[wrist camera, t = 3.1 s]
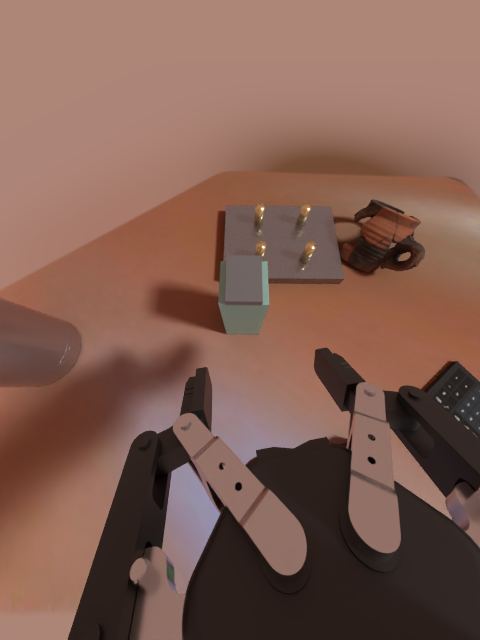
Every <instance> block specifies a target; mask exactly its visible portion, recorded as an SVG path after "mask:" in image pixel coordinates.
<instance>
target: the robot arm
mask: <svg viewBox="0 0 480 640" xmlns="http://www.w3.org/2000/svg"><path fill="white" fill-rule="evenodd" d="M80 347H81V339H80V335H79V332H78V331H77V329H76V328H75V327H74V326H73V325H72V324H70V323H68V322H66V321H64V320H61V319H58V318H55V317H52V316H50V315H47V314H44V313H41V312H39V311H36V310H33V309H30V308H27V307H25V306H22V305H19V304H16V303H13V302H10V301H8V300H5V299H2V298H0V387H39V386H44V385H48V384H50V383H53V382H55V381H56V380H58V379H60V378H61V377H62V376H64V375H65V374H66V373H67V372H68V371H69V370H70V369H71V367H72V366H73V365H74V363H75V361H76V360H77V358H78V355H79V352H80ZM314 369H315V372H316V374H317V376H318V377H319V379H320V380H321V382H322V383H323V384H324V386H325V387H326V389H327V390H328V392H329V393H330V395H331V396H332V398H333V399H334V401H335V402H336V404H337V405H338V407H339V408H340V410H341V411H342V412H343V411H349V412H350V421H349V430H348V440H347V447H346V448H345V447H343V446H340V445H337V444H333V443H330V442H329V440H328V439H327V437H325V438H319V439H314V440H309V441H307V442H305V443H304V444H302V445H300V446H298V447H296V448H293V449H290V448H279V447H271V448H266V449H261V450H256V454H257V457H255V458H253V459H252V460H250V461H249V462H248V463H247V464H246V465H244V464H243V463H242V462H241V460H240V459H239V458H238V457H237V456H236V455H235V454H234V453H233V452H232V451H231V449H230V448H229V447H228V446H227V445H226V444H225V443H224V442H223V441H222V440H221V439H220V438H219V437H218V436H216V437H215V436H214V435H213V434H212V433H211V421H212V384H211V380H210V376H209V372H208V368H207V367H204V368H198V369H196V376H195V377H190V378H189V380H188V381H187V382H186V386H185V391H184V397H183V402H182V407H181V413H180V417H179V418H177V420H176V421H175V423H174V425H173V426H172V427H170V428H169V429H167V430H165V431H163V432H160V433H158V434H157V433H156V432H154V431H146V432H144V433H142V434H140V435H139V436H138V437H137V438H136V439H135V440H134V441H133V443H132V444H131V447H130V450H129V453H128V456H127V459H126V462H125V465H124V468H123V471H122V475H121V478H120V481H119V484H118V487H117V490H116V493H115V496H114V499H113V502H112V505H111V508H110V511H109V514H108V517H107V520H106V524H105V527H104V530H103V533H102V536H101V539H100V542H99V545H98V548H97V551H96V554H95V557H94V560H93V563H92V566H91V569H90V573H89V576H88V579H87V582H86V585H85V588H84V591H83V594H82V597H81V600H80V603H79V606H78V609H77V612H76V615H75V618H74V622H73V625H72V628H71V631H70V634H69V637H68V640H480V439H479V438H478V437H477V436H476V435H474V434H473V433H472V432H471V431H470V430H469V429H467V428H466V427H465V426H464V425H463V424H462V423H461V422H459V421H458V420H457V419H456V418H455V417H454V416H452V415H451V414H450V413H449V412H448V411H447V410H445V409H444V408H443V407H442V406H441V405H440V404H439V403H437V402H436V401H435V400H434V399H433V398H432V397H430V396H429V395H428V394H427V393H426V392H424V391H423V390H421V389H419V388H416V387H413V386H402V387H400V388H399V391H398V392H393V391H383V390H382V389H381V388H379V387H378V386H376V385H374V384H372V383H368V382H365V380H364V379H363V378H362V377H361V376H360V375H359V374H358V373H357V372H356V371H355V370H354V369H353V368H352V367H351V366H350V365H349V364H348V363H347V362H346V361H345V359H344V358H343V357H341V356H339V355H338V354H336V353H334V354H332V352H331V351H330V350H329V349H328V348H321V349H316V350H315V360H314ZM390 429H392V430H393V431H394V433H395V434H396V435H397V436H398V438H399V439H400V440H401V441H402V443H403V444H404V445H405V447H406V448H407V449H408V450H409V452H410V453H411V454H412V455H413V457H414V458H415V459H416V461H417V462H418V463H419V464H420V466H421V467H422V468H423V469H424V471H425V472H426V473H427V474H428V476H429V477H430V478H431V480H432V481H433V482H434V483H435V485H436V486H437V487H438V488H439V490H440V491H441V492H442V494H443V495H444V496H445V497H446V507H447V509H448V511H449V513H450V515H451V516H452V520H451V519H449V518H448V517H447V516H445V515H444V514H442V513H441V512H439V511H438V510H436V509H435V508H434V507H432V506H431V505H429V504H428V503H426V502H425V501H423V500H422V499H420V498H419V497H418V496H416V495H415V494H413V493H412V492H410V491H409V490H407V489H406V488H405V487H403V486H402V485H400V484H399V483H397V482H396V481H394V476H393V463H392V450H391V437H390ZM424 429H425V430H426V431H427V432H428V433H429V434H430V435H431V436H430V435H429V434H428V433H427V432H426V431H425V430H424ZM187 462H188V464H189V465H190V467H191V469H192V470H193V472H194V473H195V475H196V476H197V478H198V479H199V481H200V482H201V484H202V485H203V487H204V489H205V490H206V492H207V494H208V496H209V498H210V499H211V501H212V502H213V504H214V506H215V507H216V509H217V510H218V512H219V513H220V516H219V518H218V520H217V522H216V524H215V527H214V529H213V531H212V533H211V535H210V537H209V539H208V541H207V544H206V546H205V548H204V550H203V552H202V554H201V556H200V559H199V561H198V563H197V565H196V567H195V569H194V571H193V574H192V576H191V578H190V581H189V584H188V587H187V591H186V594H178V593H177V591H176V587H175V582H174V567H173V563H172V561H171V560H170V558H169V557H168V556H167V555H166V554H165V553H164V552H163V550H162V544H163V536H164V528H165V520H166V512H167V504H168V496H169V488H170V480H171V472H172V471H173V470H175V469H176V468H178V467H180V466H182V465H183V464H185V463H187Z"/></svg>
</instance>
